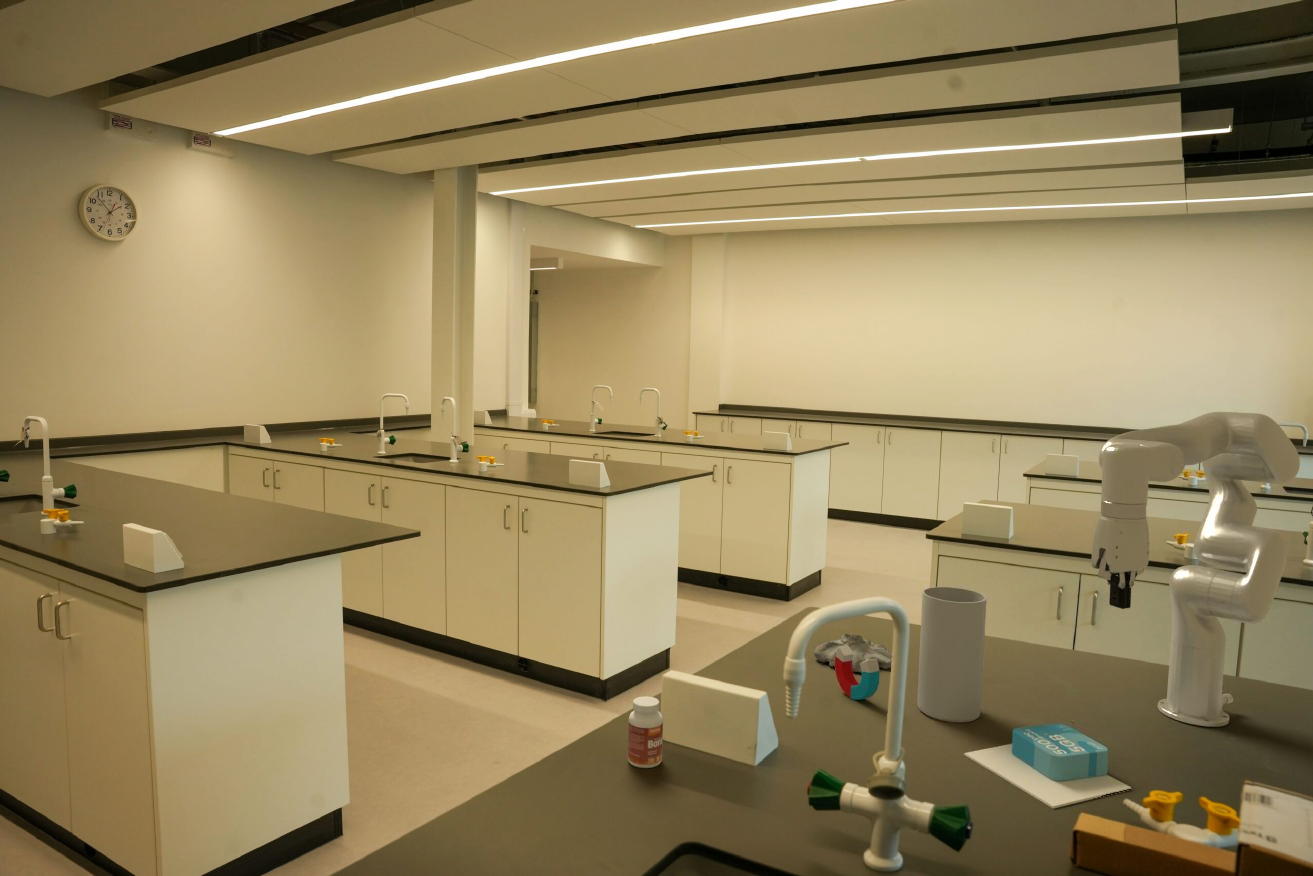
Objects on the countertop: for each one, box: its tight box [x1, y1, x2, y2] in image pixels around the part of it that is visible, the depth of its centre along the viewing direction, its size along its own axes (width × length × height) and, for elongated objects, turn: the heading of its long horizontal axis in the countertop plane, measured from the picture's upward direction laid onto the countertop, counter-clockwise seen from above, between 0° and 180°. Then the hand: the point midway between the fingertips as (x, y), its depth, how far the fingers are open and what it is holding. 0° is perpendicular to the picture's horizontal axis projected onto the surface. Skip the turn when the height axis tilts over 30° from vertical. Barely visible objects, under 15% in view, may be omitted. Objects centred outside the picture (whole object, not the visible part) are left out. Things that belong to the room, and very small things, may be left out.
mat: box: [963, 743, 1132, 810], centre depth 146 cm, size 18×20×1 cm
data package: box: [1011, 723, 1109, 781], centre depth 149 cm, size 12×4×12 cm
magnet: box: [834, 645, 881, 701], centre depth 178 cm, size 12×3×10 cm, turn 26°
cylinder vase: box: [916, 586, 987, 724], centre depth 171 cm, size 12×12×25 cm
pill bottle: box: [627, 695, 664, 769], centre depth 147 cm, size 6×6×11 cm
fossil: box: [813, 633, 893, 673], centre depth 202 cm, size 18×11×15 cm
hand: (1119, 606), depth 155 cm, fingers closed
